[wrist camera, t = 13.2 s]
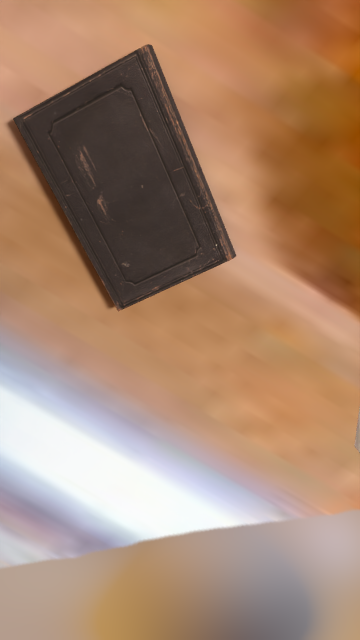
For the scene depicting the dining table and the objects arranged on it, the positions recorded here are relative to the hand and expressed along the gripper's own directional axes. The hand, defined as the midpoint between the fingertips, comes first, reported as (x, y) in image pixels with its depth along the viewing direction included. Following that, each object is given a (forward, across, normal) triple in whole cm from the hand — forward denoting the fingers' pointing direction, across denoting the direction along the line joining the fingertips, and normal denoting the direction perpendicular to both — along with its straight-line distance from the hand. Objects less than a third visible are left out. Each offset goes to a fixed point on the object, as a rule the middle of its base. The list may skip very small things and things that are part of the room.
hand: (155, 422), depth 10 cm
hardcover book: (+32, -3, +9) cm, 34 cm away
